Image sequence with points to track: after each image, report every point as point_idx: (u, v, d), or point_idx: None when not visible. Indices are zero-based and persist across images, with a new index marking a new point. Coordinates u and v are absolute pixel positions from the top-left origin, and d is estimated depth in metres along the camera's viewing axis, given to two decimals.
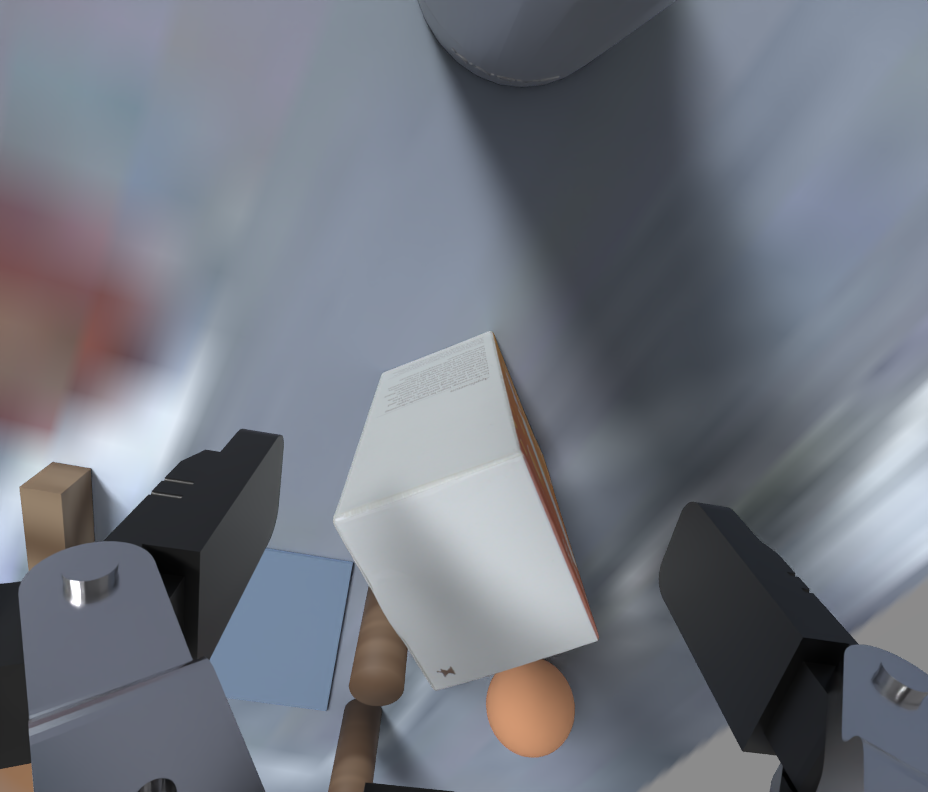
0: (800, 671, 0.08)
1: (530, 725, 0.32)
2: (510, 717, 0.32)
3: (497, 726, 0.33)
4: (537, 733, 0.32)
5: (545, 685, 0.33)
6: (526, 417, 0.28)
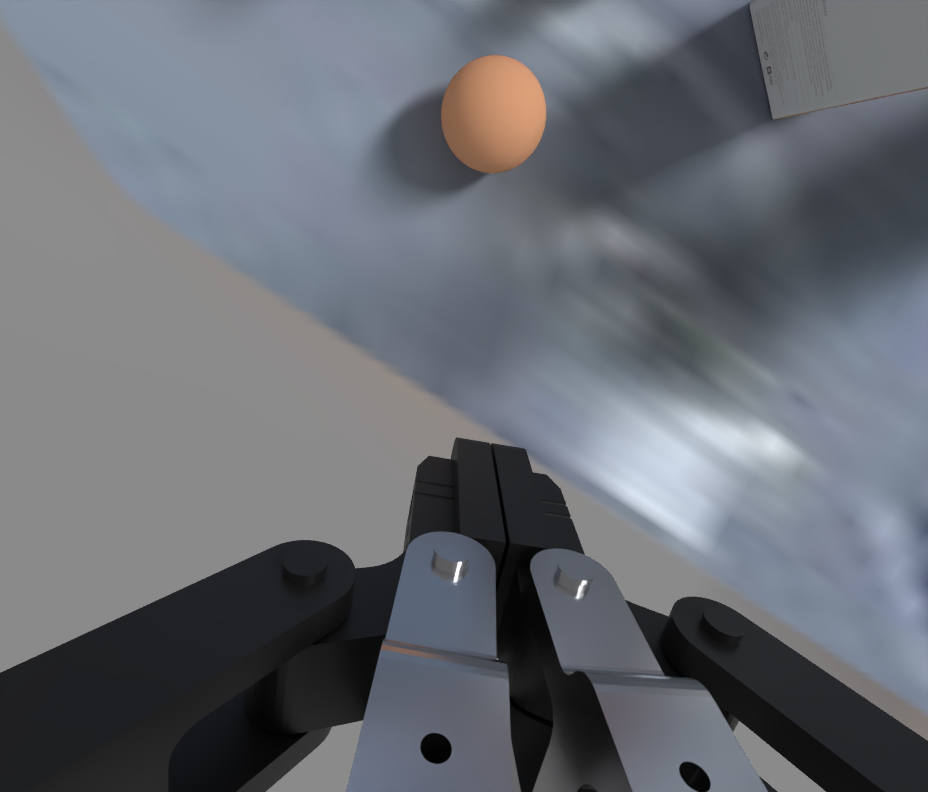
0: (515, 576, 0.08)
1: (525, 102, 0.26)
2: (524, 77, 0.27)
3: (501, 62, 0.26)
4: (518, 111, 0.26)
5: (543, 129, 0.28)
6: None
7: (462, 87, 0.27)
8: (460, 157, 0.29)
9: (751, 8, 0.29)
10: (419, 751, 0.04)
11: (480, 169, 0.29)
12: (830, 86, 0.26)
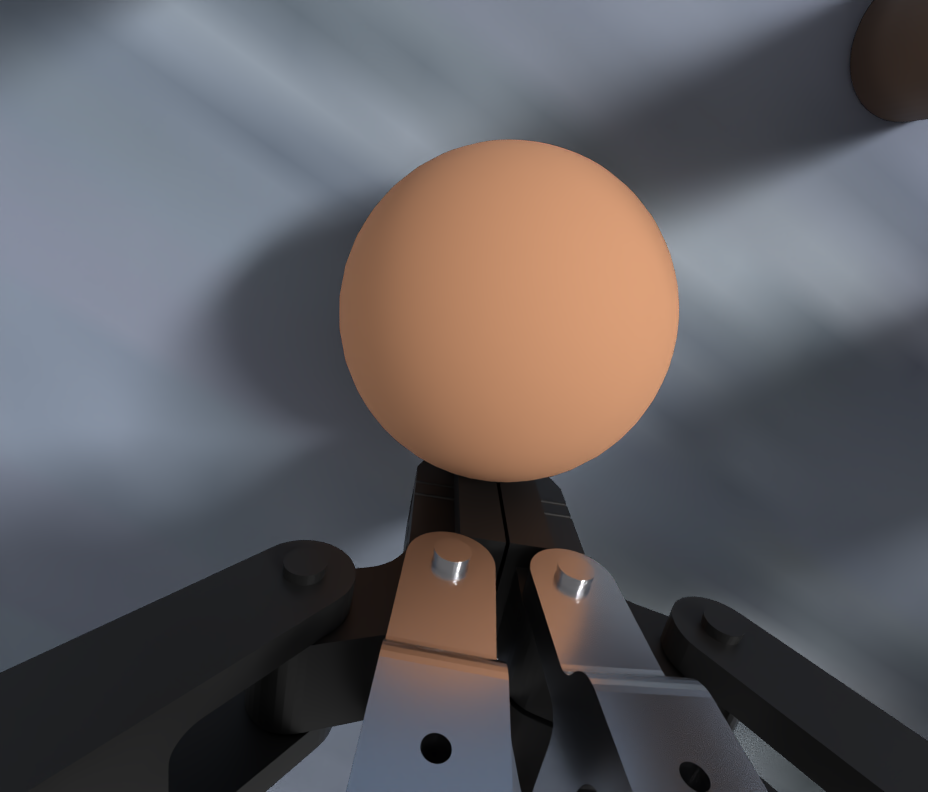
0: (516, 576, 0.08)
1: (626, 187, 0.08)
2: None
3: None
4: (612, 189, 0.07)
5: None
6: None
7: None
8: (393, 375, 0.07)
9: None
10: (418, 752, 0.04)
11: (471, 418, 0.07)
12: None
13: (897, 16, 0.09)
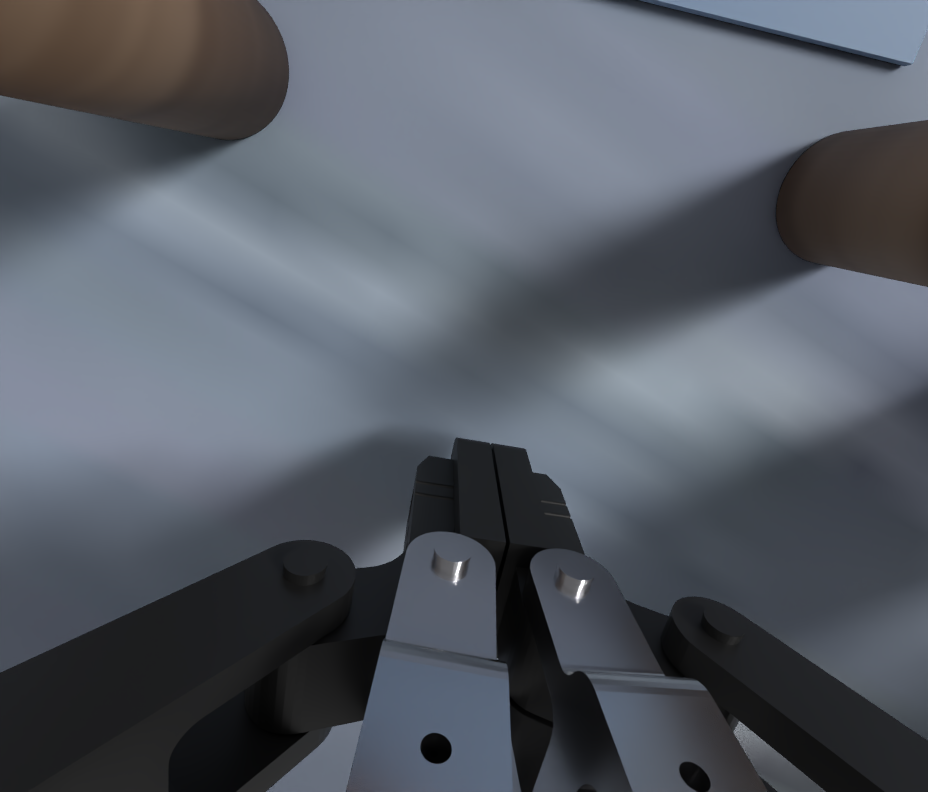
0: (516, 576, 0.08)
1: None
2: None
3: None
4: None
5: None
6: None
7: None
8: None
9: None
10: (418, 751, 0.04)
11: None
12: None
13: (810, 191, 0.10)
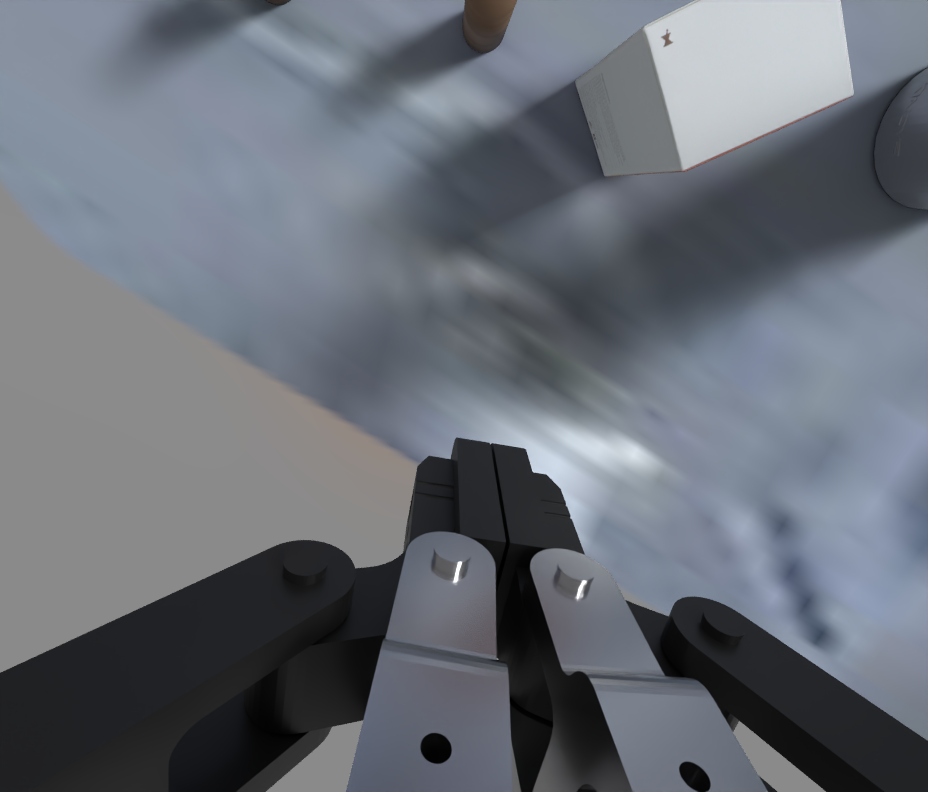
0: (516, 576, 0.08)
1: None
2: None
3: None
4: None
5: None
6: None
7: None
8: None
9: (576, 85, 0.35)
10: (419, 751, 0.04)
11: None
12: (623, 158, 0.31)
13: None
